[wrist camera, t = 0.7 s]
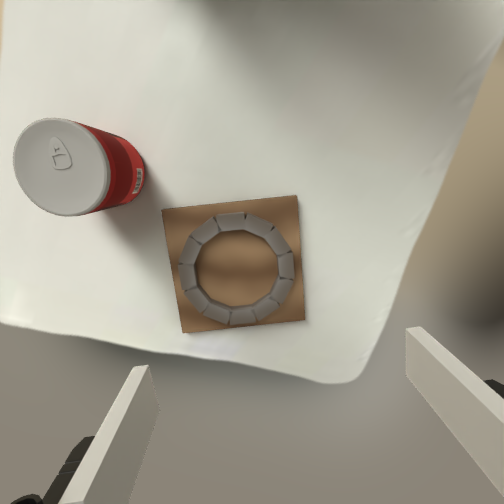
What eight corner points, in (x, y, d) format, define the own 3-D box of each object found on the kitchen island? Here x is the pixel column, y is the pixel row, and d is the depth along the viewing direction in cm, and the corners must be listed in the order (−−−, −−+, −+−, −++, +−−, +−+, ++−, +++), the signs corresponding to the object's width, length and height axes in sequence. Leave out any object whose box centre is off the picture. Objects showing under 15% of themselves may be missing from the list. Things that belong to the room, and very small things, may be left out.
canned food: (125, 122, 35) (73, 99, 24) (159, 188, 37) (125, 194, 26) (66, 152, 35) (-10, 142, 25) (103, 215, 37) (47, 231, 26)
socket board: (163, 209, 37) (157, 211, 35) (295, 195, 37) (299, 196, 35) (184, 328, 41) (180, 339, 38) (303, 315, 41) (307, 325, 39)
